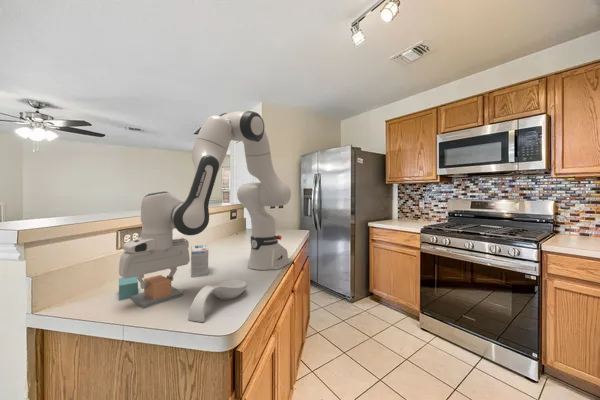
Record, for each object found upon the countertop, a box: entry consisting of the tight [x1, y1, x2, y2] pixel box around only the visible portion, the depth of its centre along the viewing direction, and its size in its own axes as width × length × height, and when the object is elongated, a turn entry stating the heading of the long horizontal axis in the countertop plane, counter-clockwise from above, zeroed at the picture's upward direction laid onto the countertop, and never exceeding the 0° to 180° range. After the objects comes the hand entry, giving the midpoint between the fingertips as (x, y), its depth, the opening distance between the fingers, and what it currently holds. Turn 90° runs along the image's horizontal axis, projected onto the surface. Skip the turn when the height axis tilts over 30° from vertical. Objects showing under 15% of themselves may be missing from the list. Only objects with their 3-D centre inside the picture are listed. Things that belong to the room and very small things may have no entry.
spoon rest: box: [187, 279, 248, 323], centre depth 76 cm, size 24×12×7 cm, turn 169°
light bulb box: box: [190, 244, 209, 278], centre depth 105 cm, size 11×7×11 cm, turn 23°
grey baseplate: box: [129, 285, 185, 309], centre depth 80 cm, size 12×10×1 cm
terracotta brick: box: [143, 274, 172, 300], centre depth 80 cm, size 5×8×5 cm, turn 52°
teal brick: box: [118, 276, 139, 301], centre depth 82 cm, size 5×8×5 cm, turn 37°
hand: (157, 284), depth 80 cm, fingers open, 6 cm apart
